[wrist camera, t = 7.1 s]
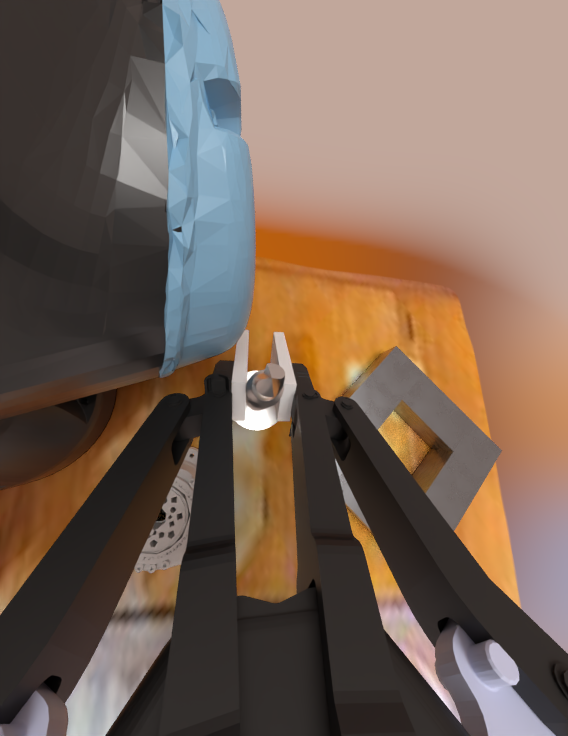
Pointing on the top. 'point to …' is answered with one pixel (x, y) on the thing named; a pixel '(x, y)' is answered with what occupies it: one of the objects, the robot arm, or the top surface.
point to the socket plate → (425, 434)
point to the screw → (263, 397)
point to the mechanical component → (171, 522)
